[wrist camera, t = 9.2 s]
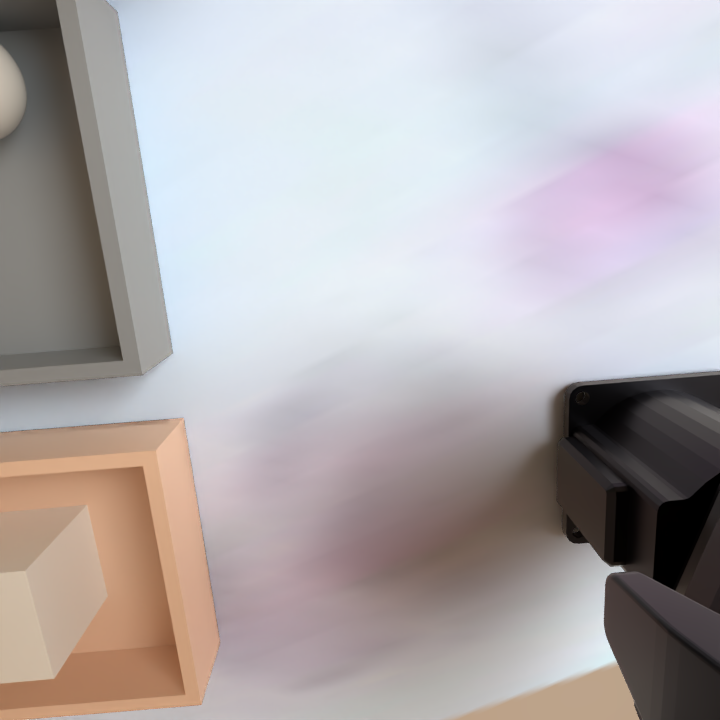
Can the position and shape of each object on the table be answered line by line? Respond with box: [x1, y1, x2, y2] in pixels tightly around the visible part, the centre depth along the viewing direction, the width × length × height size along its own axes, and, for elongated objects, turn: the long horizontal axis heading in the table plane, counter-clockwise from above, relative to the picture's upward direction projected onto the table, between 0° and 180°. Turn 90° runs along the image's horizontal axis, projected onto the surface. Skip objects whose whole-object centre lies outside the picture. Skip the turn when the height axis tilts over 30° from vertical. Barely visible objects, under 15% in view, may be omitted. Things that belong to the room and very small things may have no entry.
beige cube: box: [0, 505, 108, 684], centre depth 19 cm, size 4×4×4 cm
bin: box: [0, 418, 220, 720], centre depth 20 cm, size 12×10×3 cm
